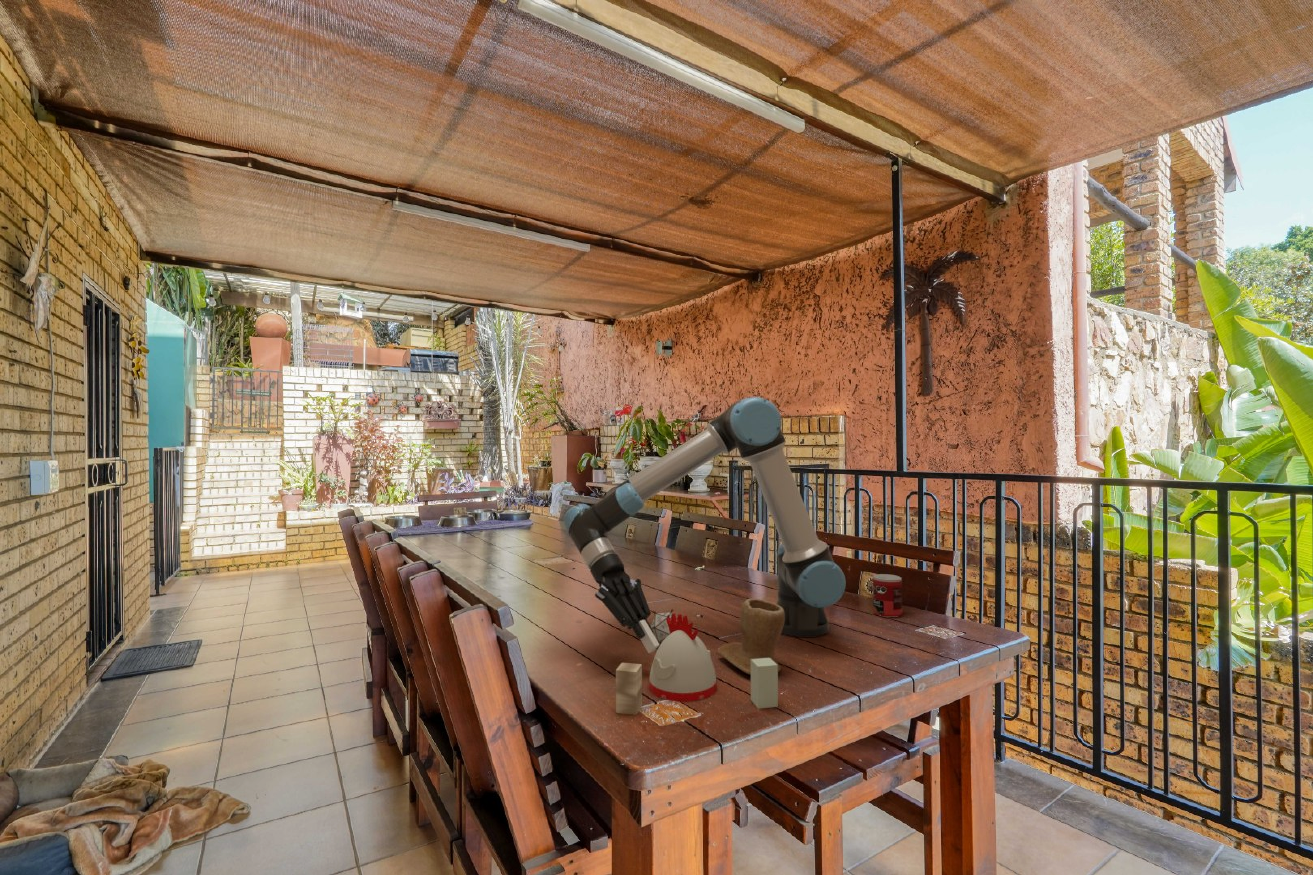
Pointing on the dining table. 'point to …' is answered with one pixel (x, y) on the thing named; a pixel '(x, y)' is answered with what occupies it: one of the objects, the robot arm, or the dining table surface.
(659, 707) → the dining table surface
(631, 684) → the birch block
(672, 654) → the kitchen timer
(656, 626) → the game die
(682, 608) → the dining table surface
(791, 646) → the dining table surface
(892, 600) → the canned food
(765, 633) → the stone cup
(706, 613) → the dining table surface
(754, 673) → the sage block
